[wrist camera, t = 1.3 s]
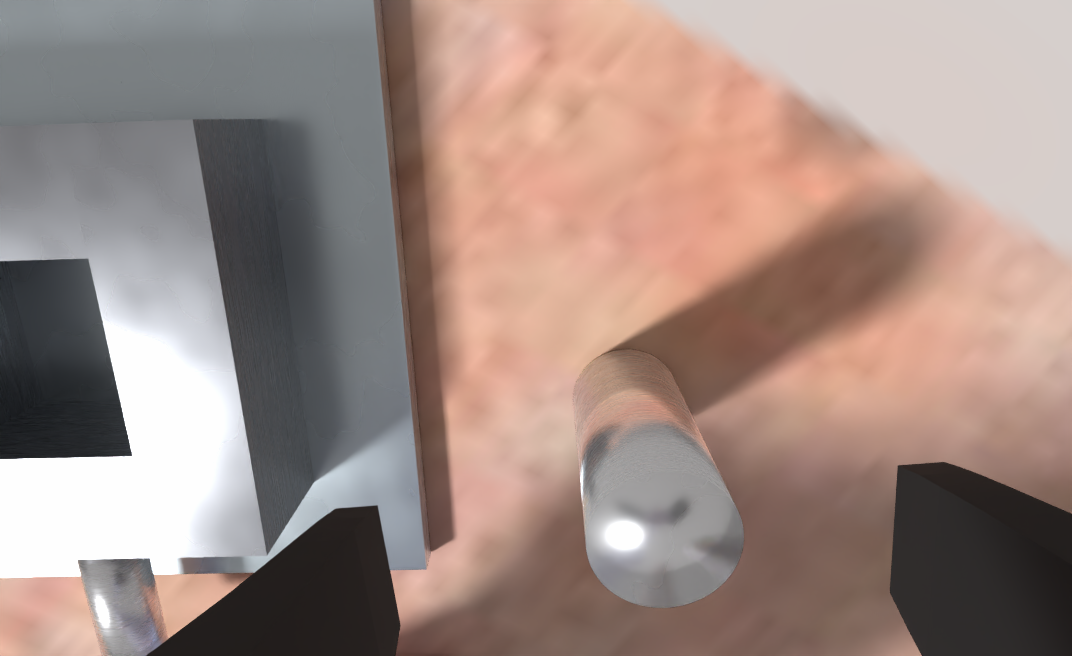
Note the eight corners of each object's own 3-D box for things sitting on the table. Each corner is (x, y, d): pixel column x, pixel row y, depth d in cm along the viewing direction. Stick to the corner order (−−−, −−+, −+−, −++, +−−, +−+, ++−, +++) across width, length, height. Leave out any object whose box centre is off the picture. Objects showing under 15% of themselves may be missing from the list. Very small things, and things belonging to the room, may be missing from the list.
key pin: (676, 444, 20) (739, 606, 14) (574, 447, 20) (586, 609, 14) (679, 347, 19) (747, 469, 13) (571, 350, 19) (584, 473, 13)
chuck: (435, 607, 22) (410, 719, 18) (-56, 615, 22) (-191, 727, 18) (379, -15, 17) (324, -58, 13) (-260, 11, 17) (-513, -22, 13)
